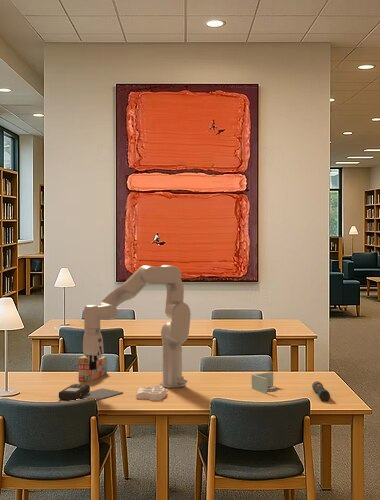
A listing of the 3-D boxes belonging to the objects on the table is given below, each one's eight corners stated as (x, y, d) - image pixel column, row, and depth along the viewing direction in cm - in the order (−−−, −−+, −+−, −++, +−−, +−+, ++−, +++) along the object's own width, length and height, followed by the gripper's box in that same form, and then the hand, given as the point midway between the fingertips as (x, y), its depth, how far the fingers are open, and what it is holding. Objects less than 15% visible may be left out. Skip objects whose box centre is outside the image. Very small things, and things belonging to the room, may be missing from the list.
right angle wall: (265, 394, 352) (265, 378, 351) (251, 389, 362) (251, 374, 362) (286, 391, 358) (286, 376, 357) (272, 386, 368) (271, 371, 368)
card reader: (90, 383, 353) (76, 392, 338) (91, 392, 353) (76, 401, 339) (73, 382, 356) (58, 391, 341) (73, 390, 356) (58, 400, 342)
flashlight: (319, 401, 336) (319, 390, 336) (311, 390, 358) (311, 380, 358) (330, 401, 336) (330, 390, 336) (321, 390, 358) (321, 380, 358)
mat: (123, 393, 354) (123, 392, 354) (96, 400, 340) (96, 399, 340) (102, 389, 363) (102, 388, 363) (74, 396, 348) (74, 395, 348)
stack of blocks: (96, 372, 402) (96, 350, 402) (107, 373, 400) (106, 350, 400) (78, 381, 382) (78, 357, 381) (89, 381, 380) (89, 358, 380)
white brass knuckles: (138, 392, 358) (168, 391, 358) (135, 401, 340) (167, 401, 340) (138, 385, 358) (168, 385, 358) (135, 394, 340) (167, 393, 340)
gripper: (109, 331, 351) (109, 370, 352) (87, 328, 360) (87, 366, 361) (97, 333, 345) (98, 372, 346) (75, 330, 354) (76, 368, 355)
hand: (92, 369), depth 353 cm, fingers closed
